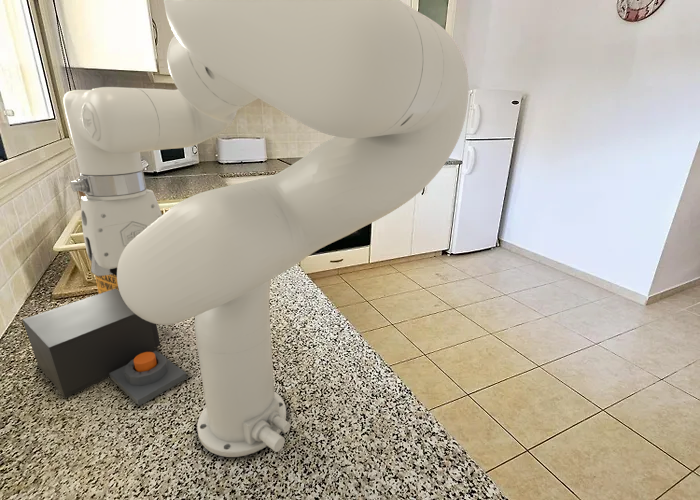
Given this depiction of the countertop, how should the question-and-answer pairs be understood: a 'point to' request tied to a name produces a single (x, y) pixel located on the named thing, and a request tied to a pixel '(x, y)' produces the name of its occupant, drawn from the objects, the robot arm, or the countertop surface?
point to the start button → (145, 361)
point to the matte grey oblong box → (87, 340)
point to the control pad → (147, 379)
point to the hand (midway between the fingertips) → (139, 298)
